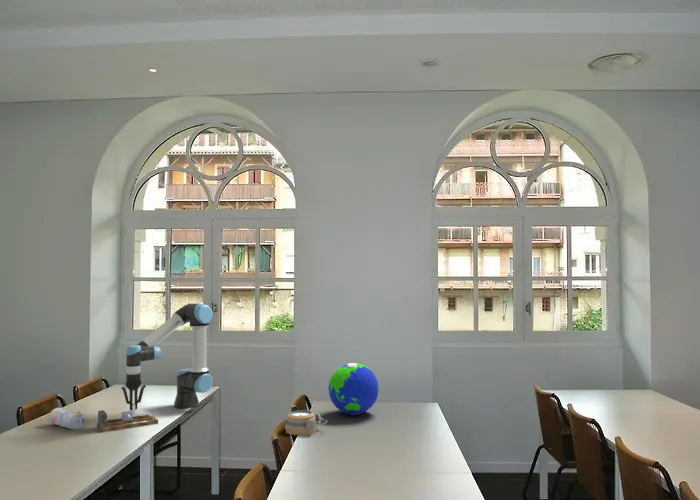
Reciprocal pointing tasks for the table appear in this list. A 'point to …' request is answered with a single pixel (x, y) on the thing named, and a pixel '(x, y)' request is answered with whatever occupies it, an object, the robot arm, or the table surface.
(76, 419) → the pencil case
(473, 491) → the table surface
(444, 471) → the table surface
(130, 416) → the blue grey block
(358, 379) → the globe
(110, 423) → the board
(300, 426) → the alarm clock
